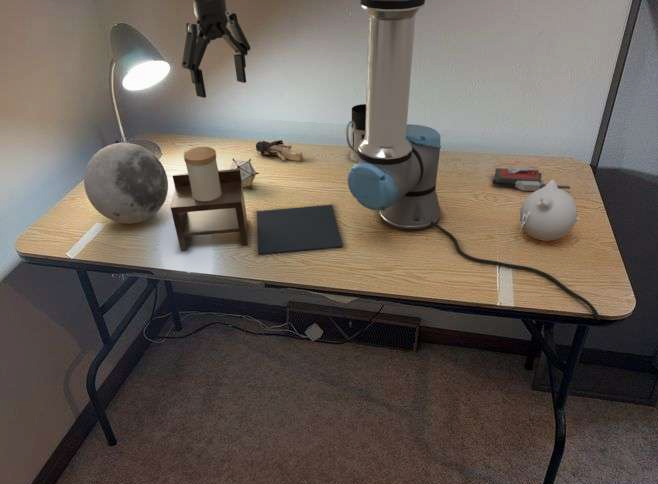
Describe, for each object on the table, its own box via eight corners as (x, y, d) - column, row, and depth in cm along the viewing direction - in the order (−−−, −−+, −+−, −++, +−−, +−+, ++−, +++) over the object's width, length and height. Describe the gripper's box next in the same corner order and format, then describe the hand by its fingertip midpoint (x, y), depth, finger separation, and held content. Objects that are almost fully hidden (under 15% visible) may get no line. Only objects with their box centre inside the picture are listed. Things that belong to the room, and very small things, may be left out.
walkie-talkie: (492, 190, 147) (569, 194, 144) (494, 176, 144) (573, 179, 141) (489, 176, 154) (563, 179, 150) (492, 161, 151) (567, 164, 148)
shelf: (247, 222, 139) (240, 168, 129) (247, 245, 130) (239, 189, 121) (184, 227, 137) (172, 174, 128) (180, 251, 129) (167, 196, 120)
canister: (222, 186, 129) (216, 145, 123) (221, 200, 123) (214, 158, 117) (193, 188, 128) (184, 148, 122) (190, 202, 123) (182, 161, 117)
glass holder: (383, 154, 168) (384, 106, 158) (359, 172, 159) (360, 122, 149) (358, 148, 172) (359, 101, 162) (334, 165, 163) (333, 116, 153)
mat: (331, 206, 143) (331, 204, 143) (342, 247, 128) (342, 245, 128) (256, 212, 142) (256, 211, 142) (258, 255, 127) (258, 253, 126)
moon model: (86, 239, 135) (59, 165, 122) (111, 200, 150) (89, 131, 138) (165, 237, 134) (146, 163, 122) (182, 198, 150) (166, 128, 138)
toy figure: (305, 154, 171) (261, 148, 174) (305, 136, 166) (259, 130, 169) (299, 166, 166) (253, 160, 169) (298, 148, 161) (251, 142, 164)
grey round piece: (569, 259, 121) (583, 212, 113) (509, 246, 125) (519, 200, 118) (576, 227, 131) (590, 181, 123) (521, 216, 136) (531, 171, 128)
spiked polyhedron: (246, 201, 155) (238, 186, 145) (225, 184, 157) (215, 168, 147) (267, 178, 156) (259, 162, 146) (245, 162, 158) (237, 145, 148)
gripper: (236, -16, 133) (247, 73, 146) (153, 3, 118) (173, 100, 131) (258, -13, 129) (267, 78, 142) (174, 6, 114) (193, 106, 127)
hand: (222, 89), depth 136 cm, fingers open, 13 cm apart
